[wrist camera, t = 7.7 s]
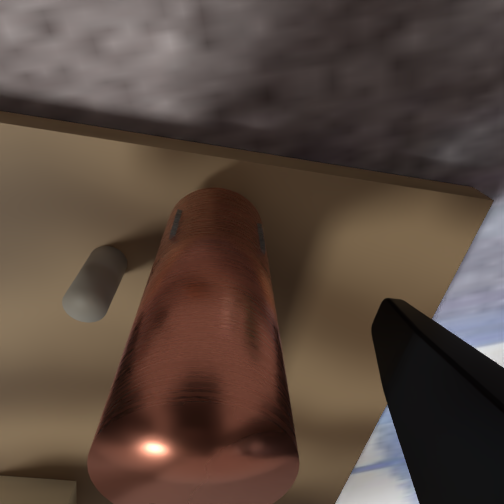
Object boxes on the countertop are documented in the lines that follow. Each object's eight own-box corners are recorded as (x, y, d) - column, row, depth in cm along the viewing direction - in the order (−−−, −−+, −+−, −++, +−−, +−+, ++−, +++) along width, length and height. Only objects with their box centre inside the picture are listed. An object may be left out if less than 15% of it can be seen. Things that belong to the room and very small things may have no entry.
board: (312, 517, 24) (324, 588, 21) (6, 505, 21) (-31, 582, 18) (472, 187, 13) (546, 234, 10) (-108, 93, 11) (-242, 117, 8)
